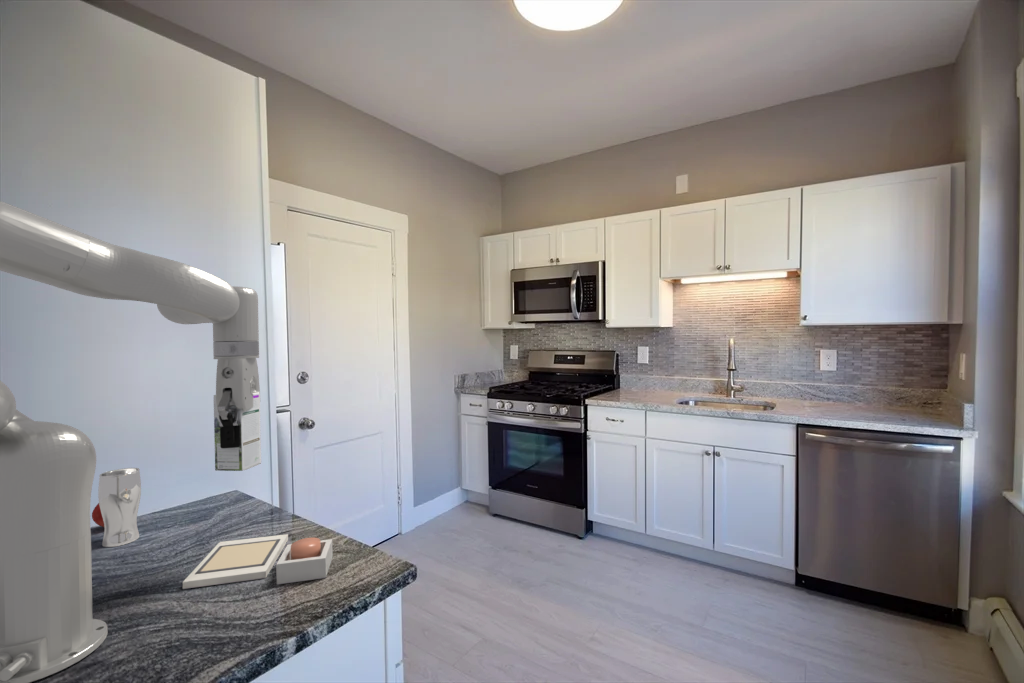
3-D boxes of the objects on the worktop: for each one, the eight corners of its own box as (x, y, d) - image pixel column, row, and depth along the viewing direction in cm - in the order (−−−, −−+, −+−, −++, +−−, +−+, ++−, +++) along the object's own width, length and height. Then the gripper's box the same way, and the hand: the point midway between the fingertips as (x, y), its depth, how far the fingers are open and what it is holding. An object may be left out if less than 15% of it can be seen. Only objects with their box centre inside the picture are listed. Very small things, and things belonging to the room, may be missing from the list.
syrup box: (262, 463, 89) (261, 390, 89) (241, 471, 83) (240, 393, 83) (235, 463, 89) (234, 390, 89) (213, 471, 83) (212, 394, 83)
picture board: (266, 577, 80) (265, 570, 80) (182, 588, 77) (182, 581, 77) (288, 539, 95) (288, 533, 95) (219, 547, 92) (219, 541, 92)
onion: (85, 532, 102) (85, 497, 102) (114, 522, 107) (114, 489, 107) (103, 534, 100) (102, 499, 100) (131, 524, 106) (131, 490, 106)
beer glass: (137, 531, 102) (136, 465, 102) (145, 539, 97) (144, 470, 97) (96, 542, 96) (95, 473, 96) (102, 551, 92) (101, 478, 92)
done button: (318, 560, 81) (317, 547, 81) (287, 564, 79) (287, 551, 79) (322, 548, 85) (322, 536, 85) (294, 552, 84) (294, 539, 84)
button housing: (325, 577, 79) (325, 558, 79) (276, 584, 78) (276, 564, 78) (332, 556, 87) (332, 539, 87) (288, 562, 85) (287, 544, 85)
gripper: (242, 351, 79) (244, 452, 79) (270, 350, 95) (272, 433, 95) (194, 352, 77) (196, 455, 77) (231, 351, 94) (233, 435, 94)
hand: (238, 442), depth 86 cm, fingers closed on syrup box, 7 cm apart
